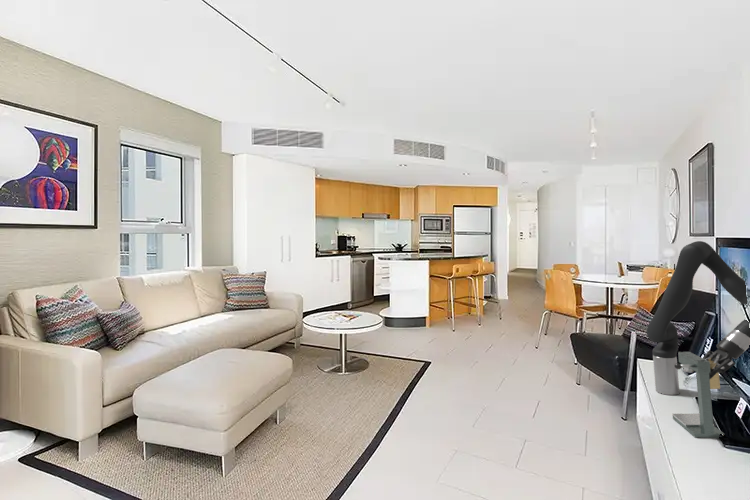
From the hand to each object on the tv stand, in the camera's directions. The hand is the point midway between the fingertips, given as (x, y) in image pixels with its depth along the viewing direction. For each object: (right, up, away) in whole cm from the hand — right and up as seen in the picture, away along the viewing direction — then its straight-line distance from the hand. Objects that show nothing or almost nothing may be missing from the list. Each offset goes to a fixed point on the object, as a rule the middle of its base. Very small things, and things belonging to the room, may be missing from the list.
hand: (702, 375), depth 163 cm
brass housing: (+2, -4, 0) cm, 5 cm away
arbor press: (-8, -19, -5) cm, 21 cm away
